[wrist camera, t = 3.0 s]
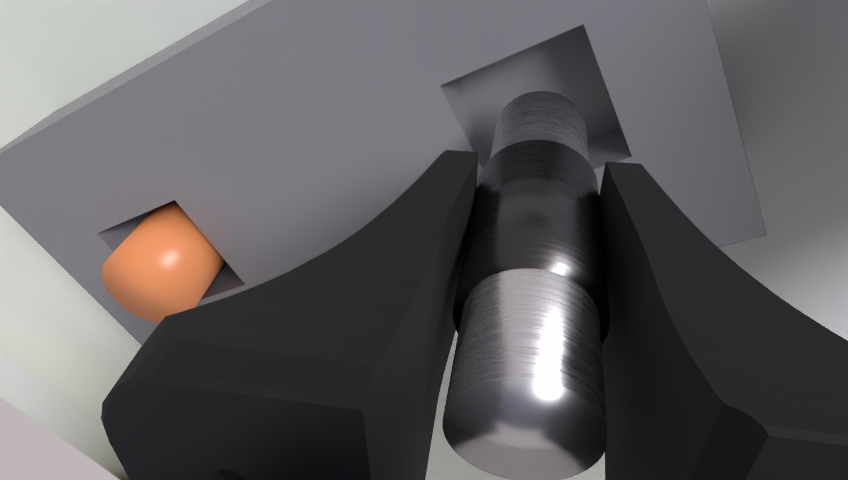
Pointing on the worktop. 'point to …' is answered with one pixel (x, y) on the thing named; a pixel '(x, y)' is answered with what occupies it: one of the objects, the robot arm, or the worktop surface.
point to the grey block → (366, 124)
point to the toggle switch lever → (532, 302)
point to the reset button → (162, 265)
